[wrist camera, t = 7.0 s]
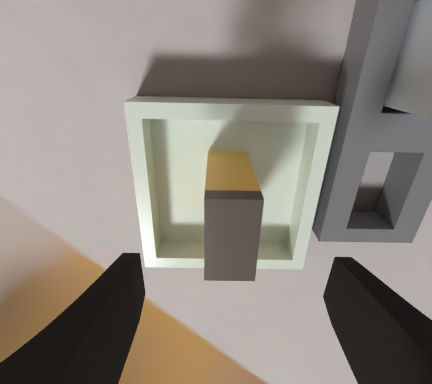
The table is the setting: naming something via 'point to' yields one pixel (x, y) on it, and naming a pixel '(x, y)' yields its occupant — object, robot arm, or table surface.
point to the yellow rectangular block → (231, 217)
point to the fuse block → (374, 136)
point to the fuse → (414, 65)
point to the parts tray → (226, 142)
